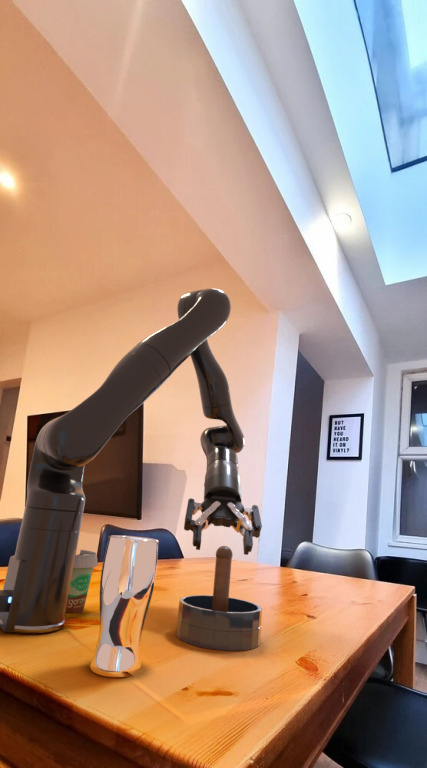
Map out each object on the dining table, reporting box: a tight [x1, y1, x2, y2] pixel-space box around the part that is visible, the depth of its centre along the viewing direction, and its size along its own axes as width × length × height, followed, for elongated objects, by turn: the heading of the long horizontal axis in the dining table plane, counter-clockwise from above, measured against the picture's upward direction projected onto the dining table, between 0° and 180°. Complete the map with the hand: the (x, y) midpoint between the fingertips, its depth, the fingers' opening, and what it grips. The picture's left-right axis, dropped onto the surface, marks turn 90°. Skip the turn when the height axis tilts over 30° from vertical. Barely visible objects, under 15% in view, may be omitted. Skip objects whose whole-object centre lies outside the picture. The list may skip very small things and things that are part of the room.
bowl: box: [175, 594, 263, 652], centre depth 67 cm, size 13×13×6 cm
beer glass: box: [89, 534, 160, 678], centre depth 54 cm, size 7×7×15 cm
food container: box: [65, 549, 99, 615], centre depth 76 cm, size 12×6×10 cm, turn 167°
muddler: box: [212, 545, 234, 612], centre depth 69 cm, size 4×4×14 cm
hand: (222, 549), depth 74 cm, fingers open, 8 cm apart
